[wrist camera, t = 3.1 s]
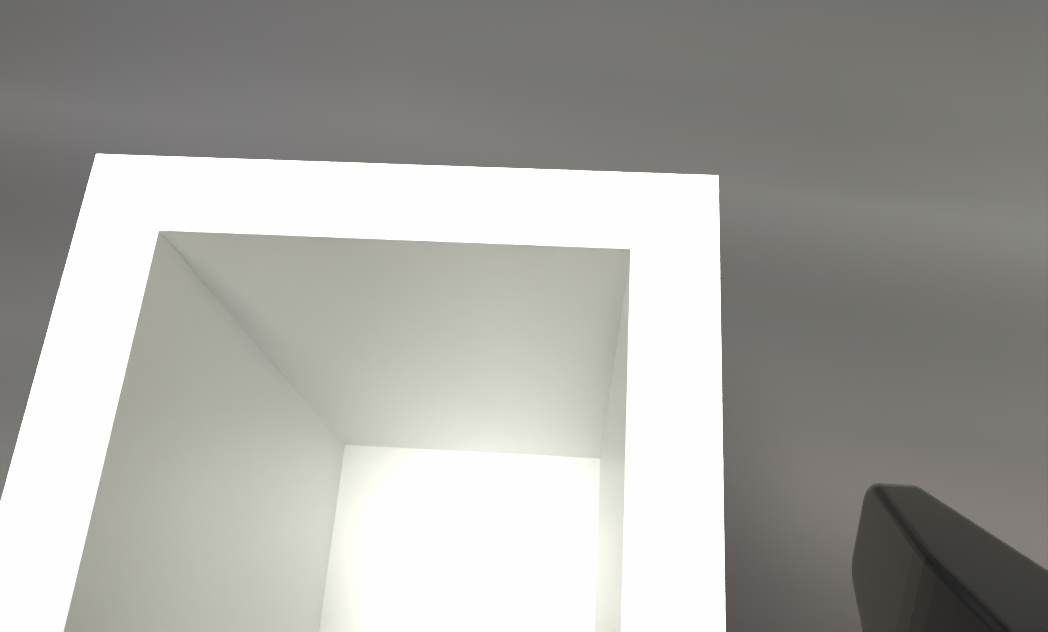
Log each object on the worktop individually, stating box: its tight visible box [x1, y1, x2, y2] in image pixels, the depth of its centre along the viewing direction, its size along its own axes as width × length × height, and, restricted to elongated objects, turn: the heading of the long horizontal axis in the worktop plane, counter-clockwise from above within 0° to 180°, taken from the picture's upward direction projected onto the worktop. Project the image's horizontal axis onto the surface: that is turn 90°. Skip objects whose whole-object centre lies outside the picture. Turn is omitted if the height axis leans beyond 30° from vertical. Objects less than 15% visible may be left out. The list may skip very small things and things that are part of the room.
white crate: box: [0, 154, 726, 632], centre depth 12 cm, size 6×6×9 cm
